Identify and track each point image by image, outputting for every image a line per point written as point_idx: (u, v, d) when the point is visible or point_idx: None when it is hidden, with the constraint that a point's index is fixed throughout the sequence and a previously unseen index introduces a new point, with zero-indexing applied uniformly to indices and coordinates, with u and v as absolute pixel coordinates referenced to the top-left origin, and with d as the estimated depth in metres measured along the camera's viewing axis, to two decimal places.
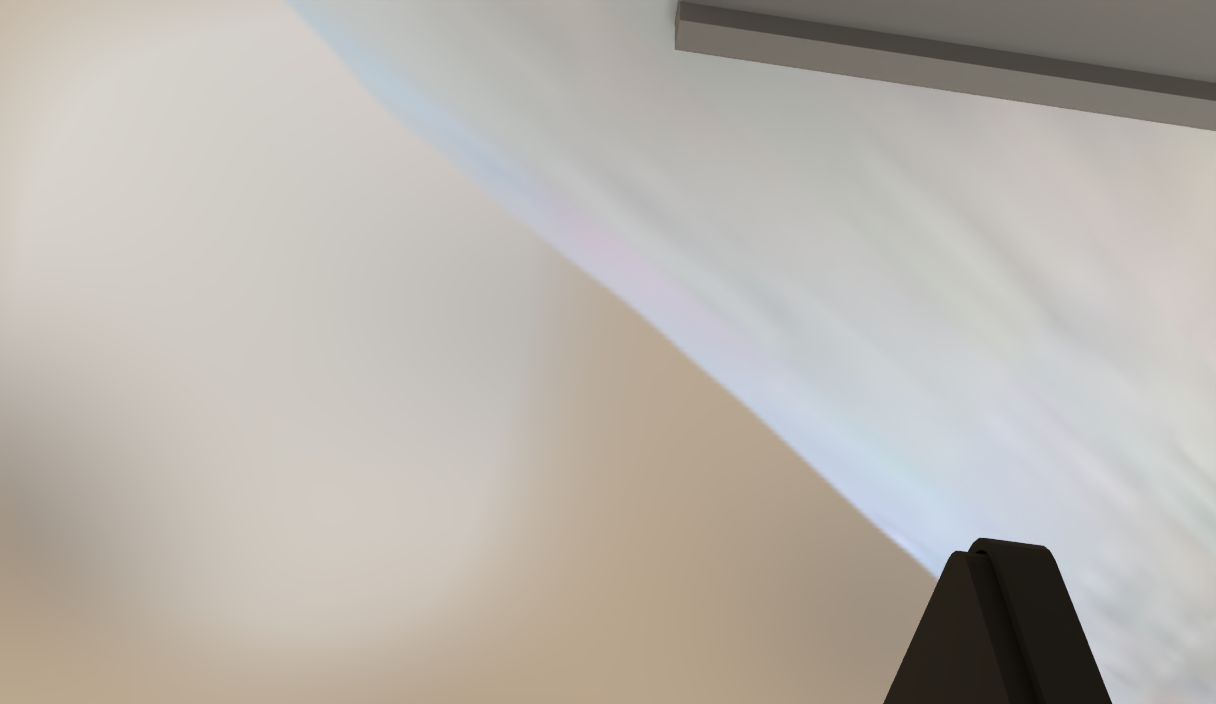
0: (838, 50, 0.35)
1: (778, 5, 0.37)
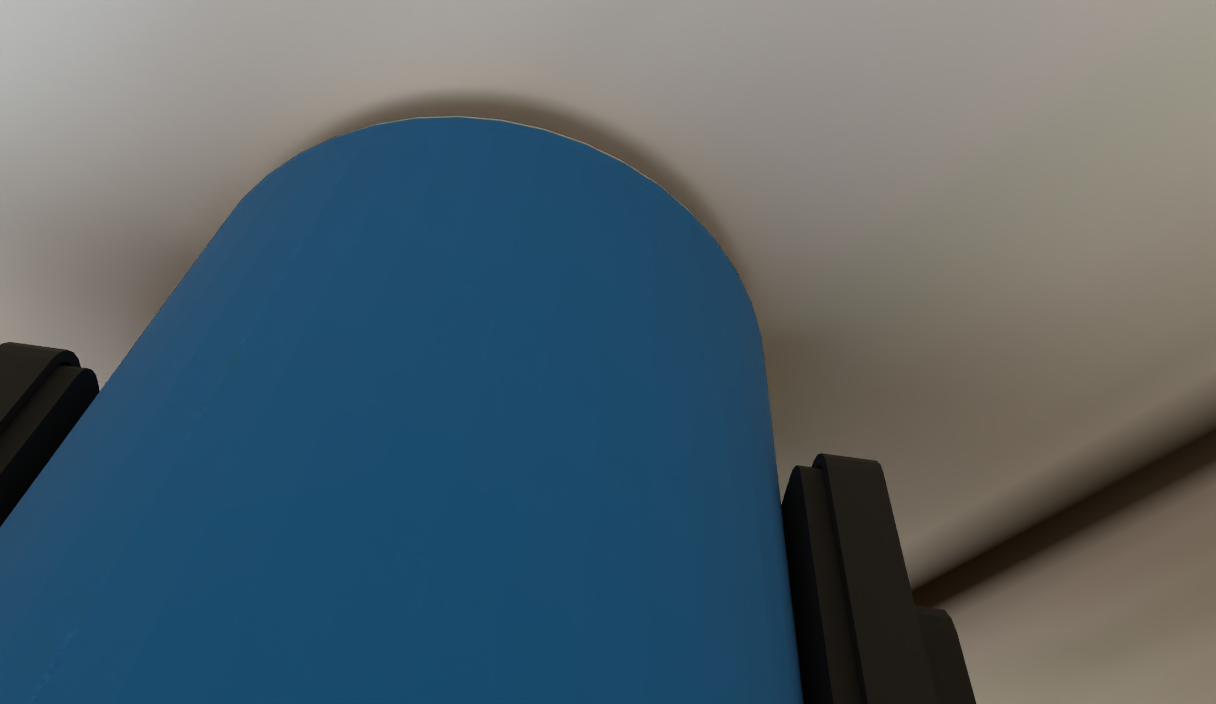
0: None
1: None
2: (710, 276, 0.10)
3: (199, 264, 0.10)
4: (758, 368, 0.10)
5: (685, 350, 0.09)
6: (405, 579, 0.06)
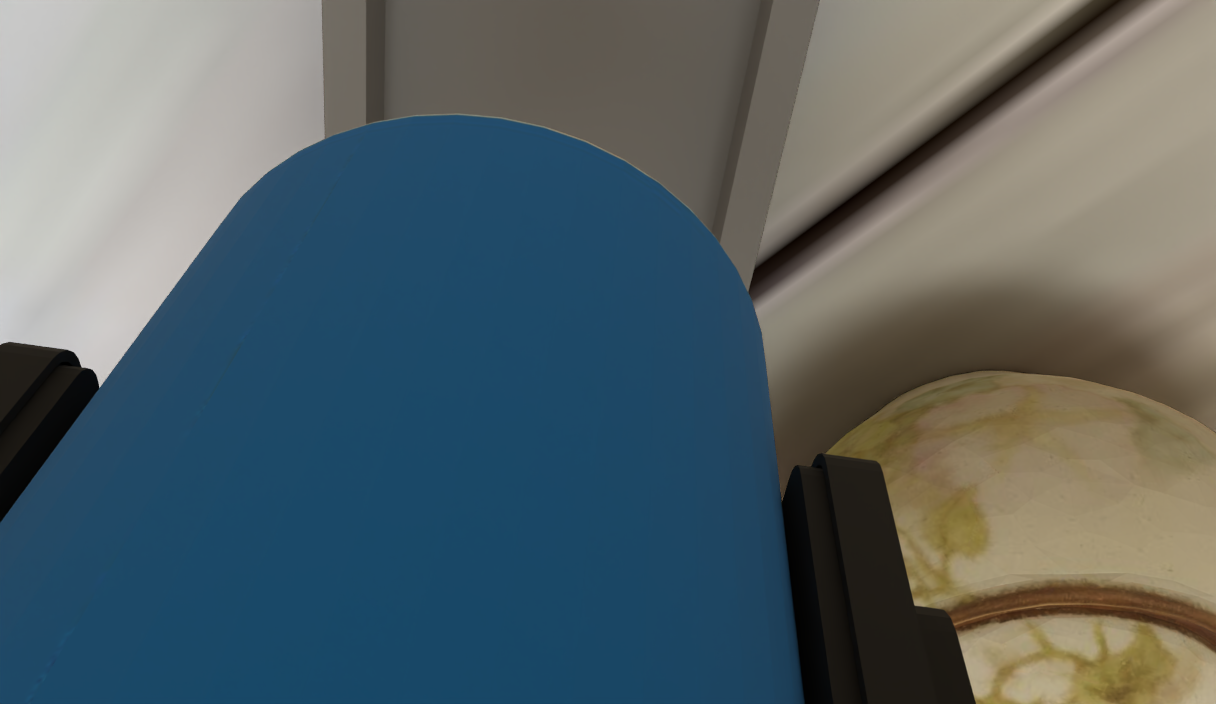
0: None
1: None
2: (711, 274, 0.10)
3: (198, 262, 0.10)
4: (759, 367, 0.10)
5: (687, 348, 0.09)
6: (404, 577, 0.06)
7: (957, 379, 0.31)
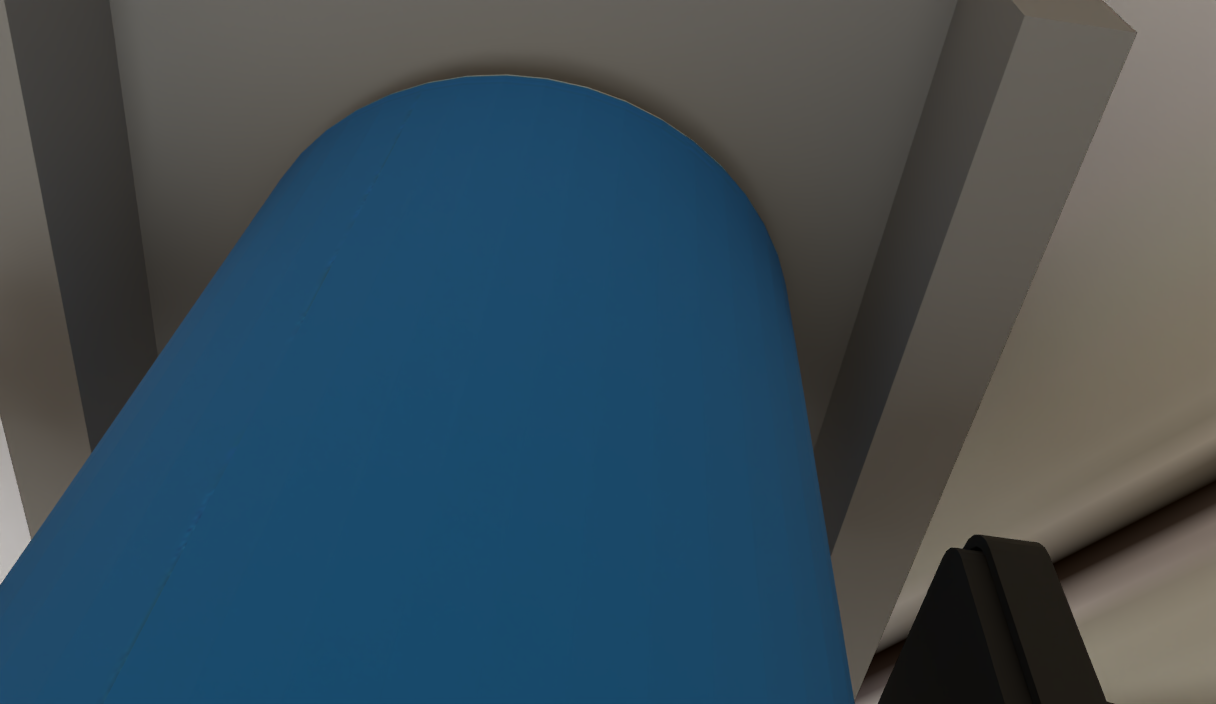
0: (55, 366, 0.12)
1: (157, 135, 0.13)
2: (743, 225, 0.11)
3: (269, 208, 0.10)
4: (787, 312, 0.11)
5: (727, 284, 0.09)
6: (500, 452, 0.06)
7: None
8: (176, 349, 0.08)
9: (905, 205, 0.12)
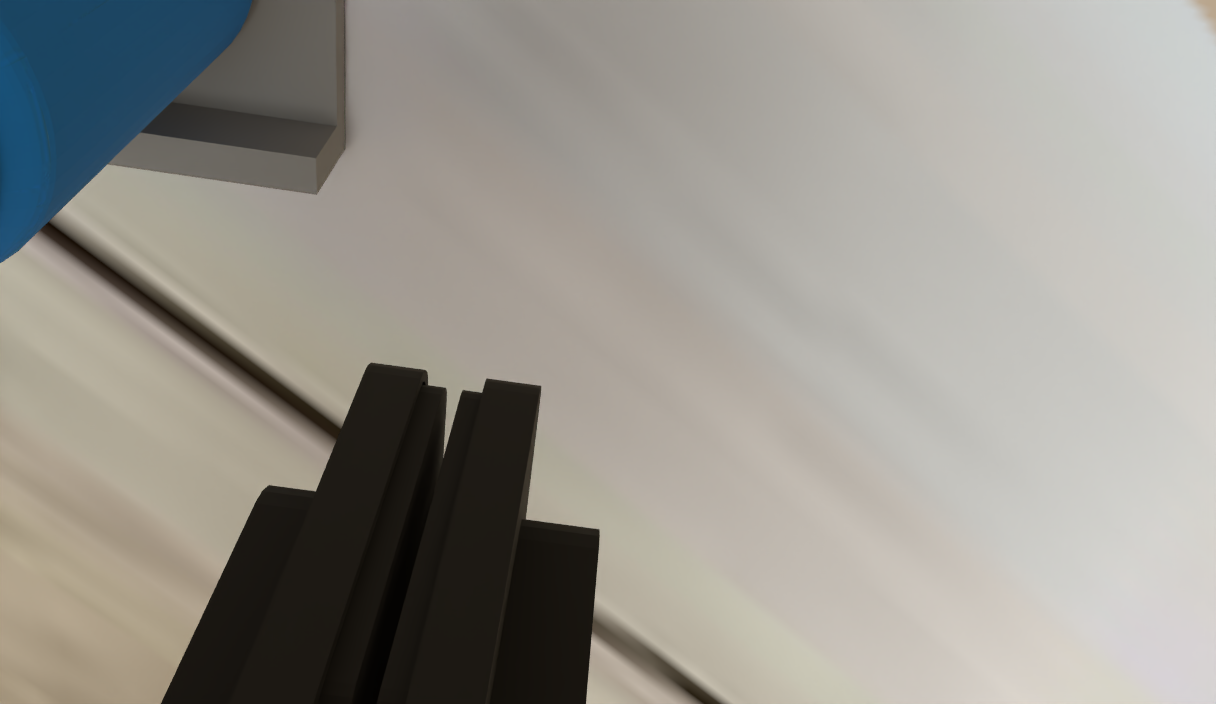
0: None
1: None
2: None
3: None
4: None
5: (194, 78, 0.24)
6: (155, 65, 0.20)
7: None
8: None
9: (229, 118, 0.28)
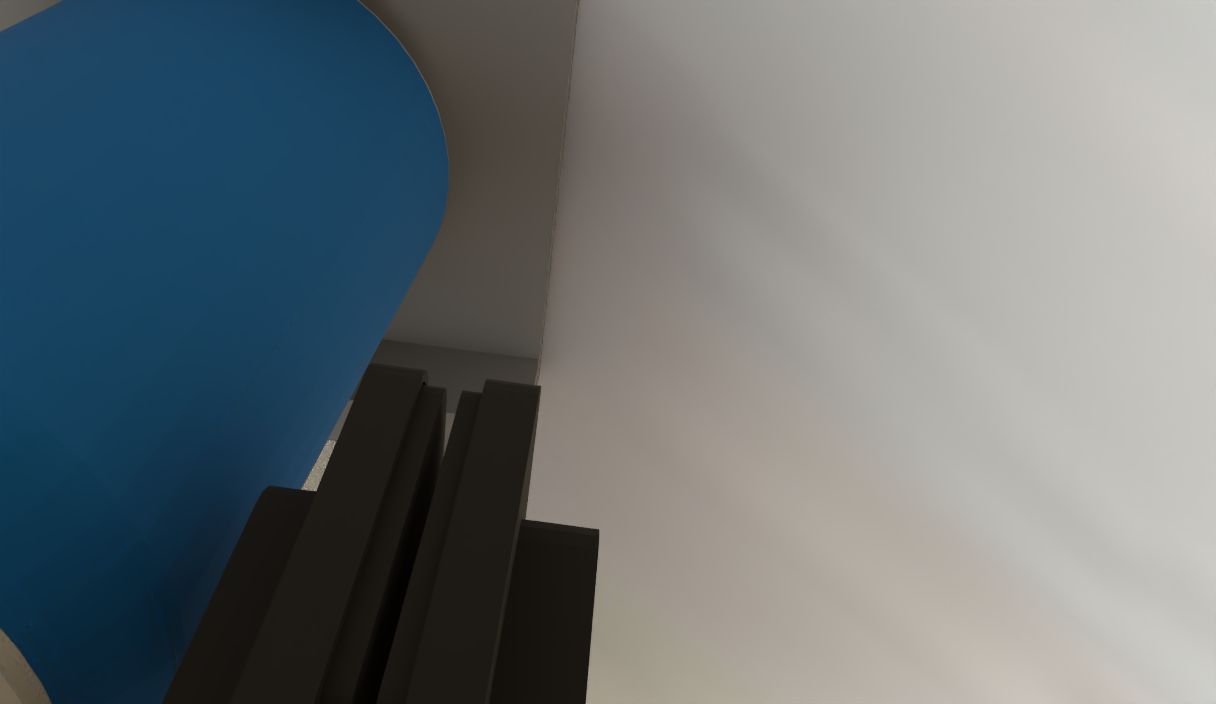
0: None
1: None
2: None
3: (354, 59, 0.15)
4: None
5: None
6: (332, 407, 0.13)
7: None
8: (297, 130, 0.13)
9: (399, 356, 0.21)
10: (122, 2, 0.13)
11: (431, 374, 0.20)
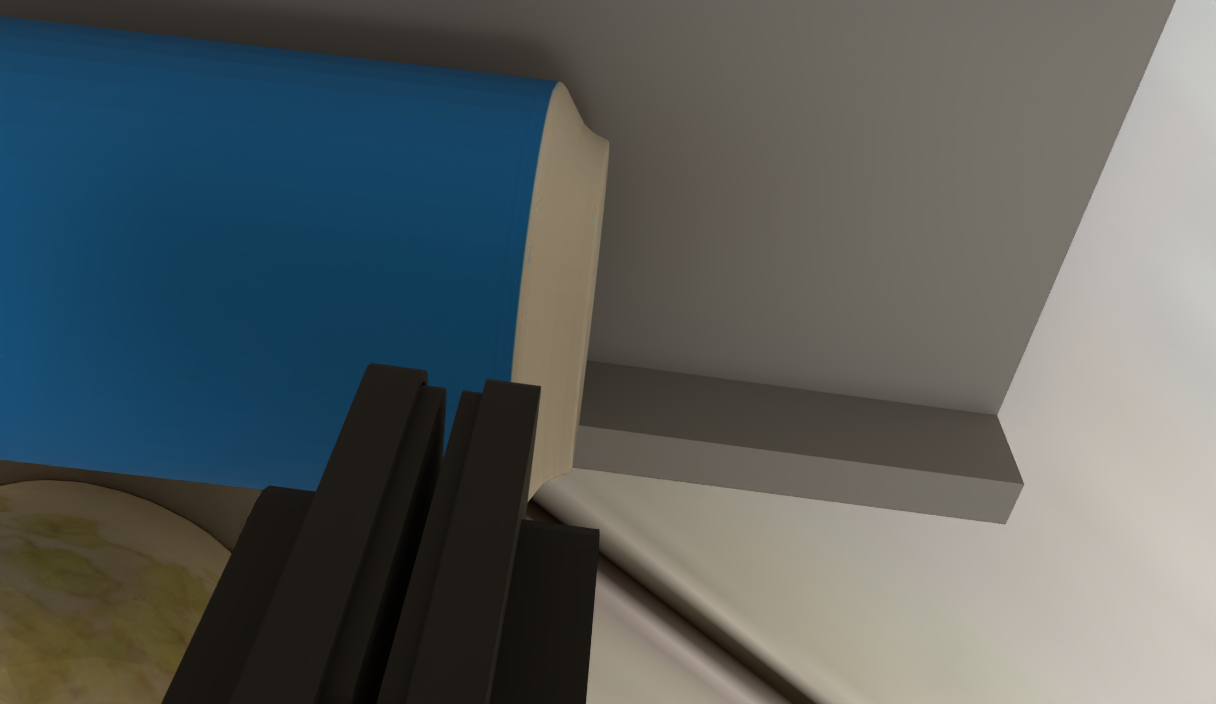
0: None
1: None
2: None
3: (389, 285, 0.13)
4: None
5: None
6: (68, 445, 0.14)
7: None
8: (182, 270, 0.13)
9: (867, 412, 0.20)
10: (308, 90, 0.14)
11: (907, 432, 0.20)
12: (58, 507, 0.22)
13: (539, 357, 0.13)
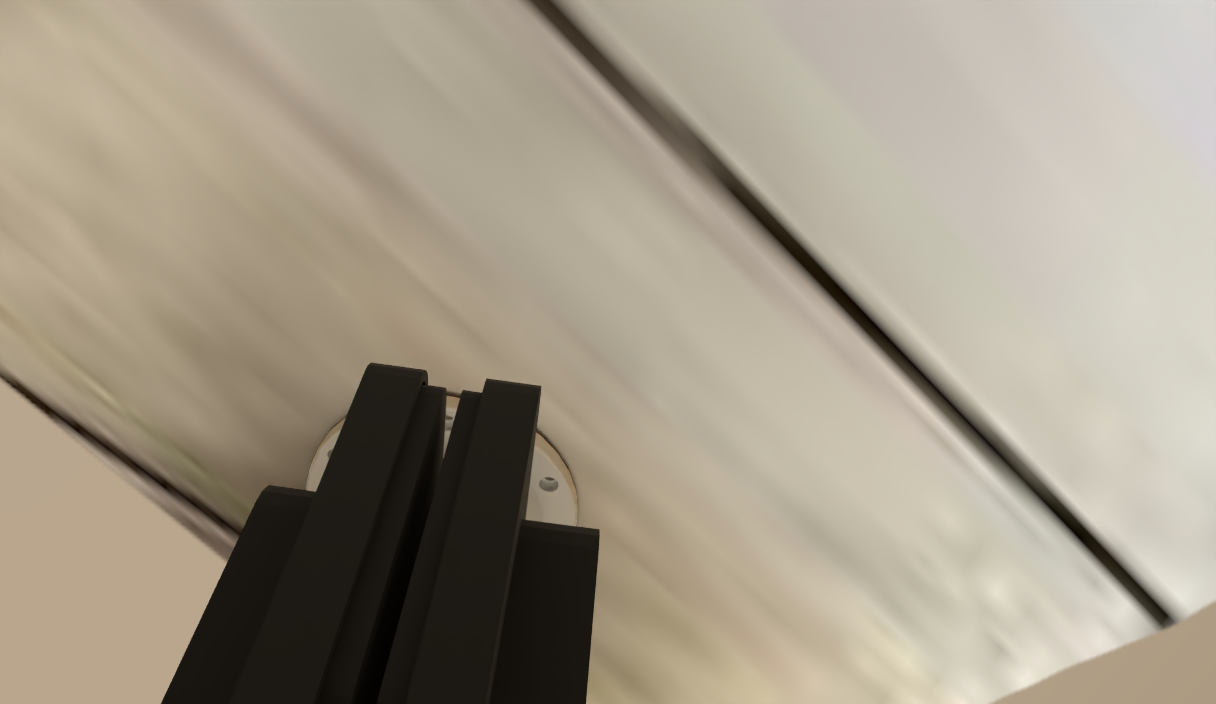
0: None
1: None
2: None
3: None
4: None
5: None
6: None
7: None
8: None
9: None
10: None
11: None
12: None
13: None
